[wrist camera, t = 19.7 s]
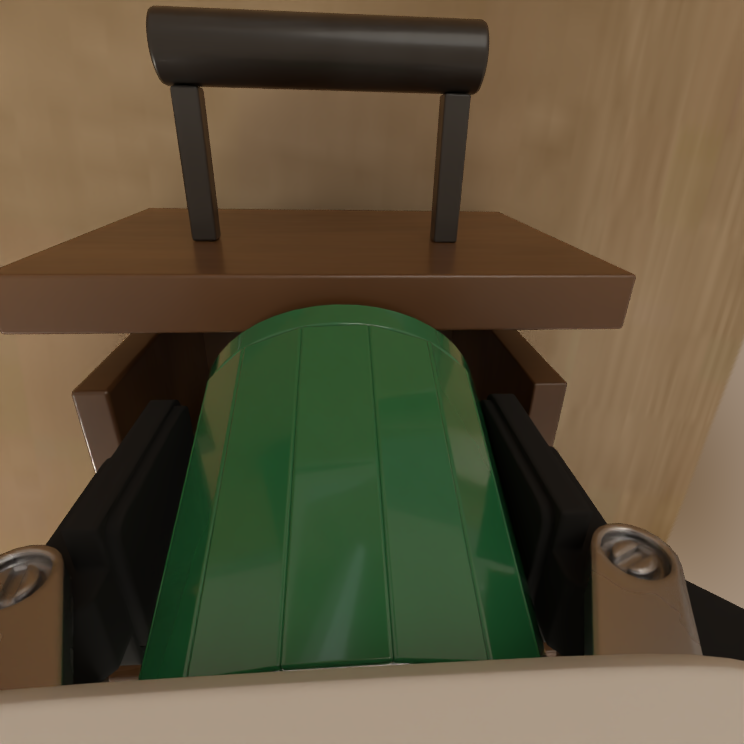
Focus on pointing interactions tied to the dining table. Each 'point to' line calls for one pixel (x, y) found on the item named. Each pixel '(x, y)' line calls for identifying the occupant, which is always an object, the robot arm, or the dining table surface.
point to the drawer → (307, 232)
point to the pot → (339, 508)
